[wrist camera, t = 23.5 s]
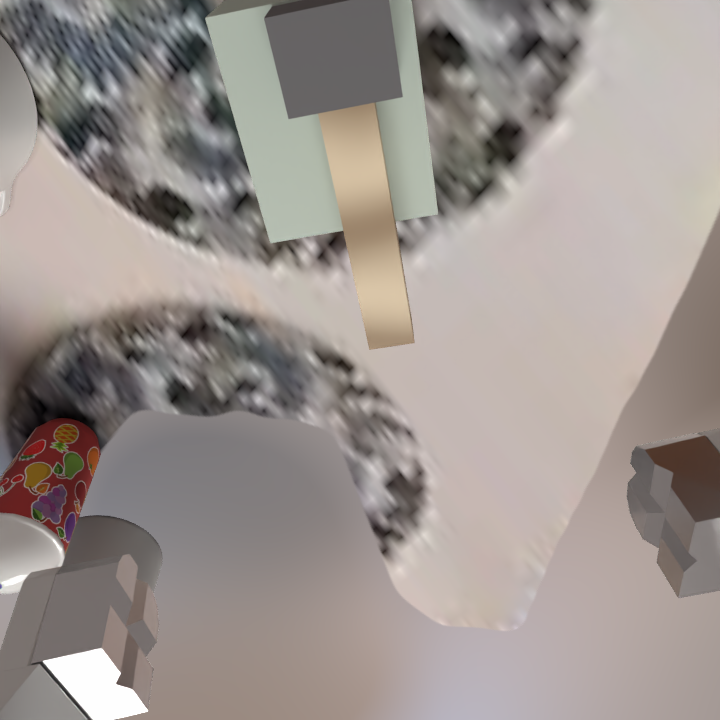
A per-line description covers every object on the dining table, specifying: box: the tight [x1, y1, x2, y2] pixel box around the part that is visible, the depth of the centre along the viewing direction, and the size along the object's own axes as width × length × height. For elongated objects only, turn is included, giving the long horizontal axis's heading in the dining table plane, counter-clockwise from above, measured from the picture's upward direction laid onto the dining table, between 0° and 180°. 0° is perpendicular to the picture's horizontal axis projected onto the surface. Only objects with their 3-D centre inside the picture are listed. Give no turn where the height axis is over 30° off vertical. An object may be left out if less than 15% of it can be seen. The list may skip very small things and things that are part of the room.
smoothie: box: [0, 418, 101, 594], centre depth 59 cm, size 8×8×20 cm
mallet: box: [264, 0, 414, 350], centre depth 32 cm, size 17×5×3 cm, turn 11°
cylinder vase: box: [62, 515, 162, 720], centre depth 67 cm, size 12×12×25 cm
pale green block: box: [205, 0, 438, 243], centre depth 39 cm, size 9×11×17 cm
